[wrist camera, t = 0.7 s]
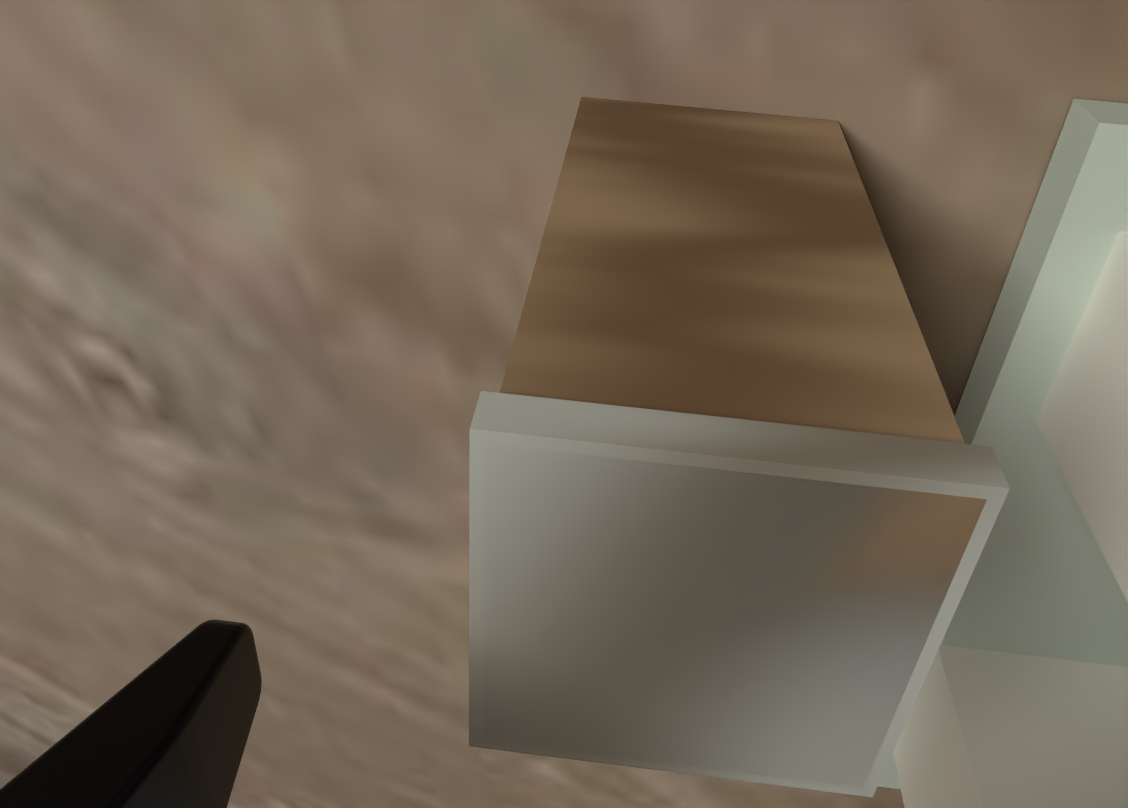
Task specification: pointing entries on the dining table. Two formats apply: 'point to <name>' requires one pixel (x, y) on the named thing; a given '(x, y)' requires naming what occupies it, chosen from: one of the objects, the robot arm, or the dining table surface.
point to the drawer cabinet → (1044, 516)
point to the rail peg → (715, 466)
